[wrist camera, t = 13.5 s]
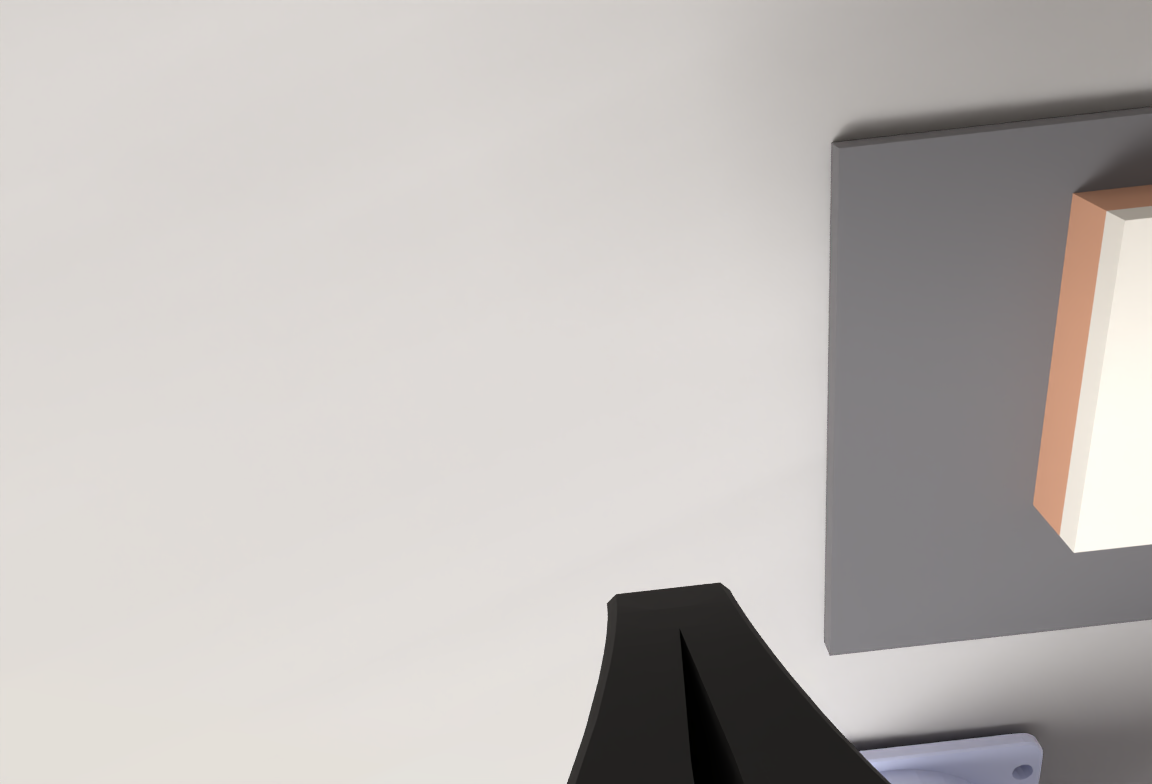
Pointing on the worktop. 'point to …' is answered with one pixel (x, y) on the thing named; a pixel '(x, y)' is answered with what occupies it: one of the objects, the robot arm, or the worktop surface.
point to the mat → (959, 383)
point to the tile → (1101, 378)
